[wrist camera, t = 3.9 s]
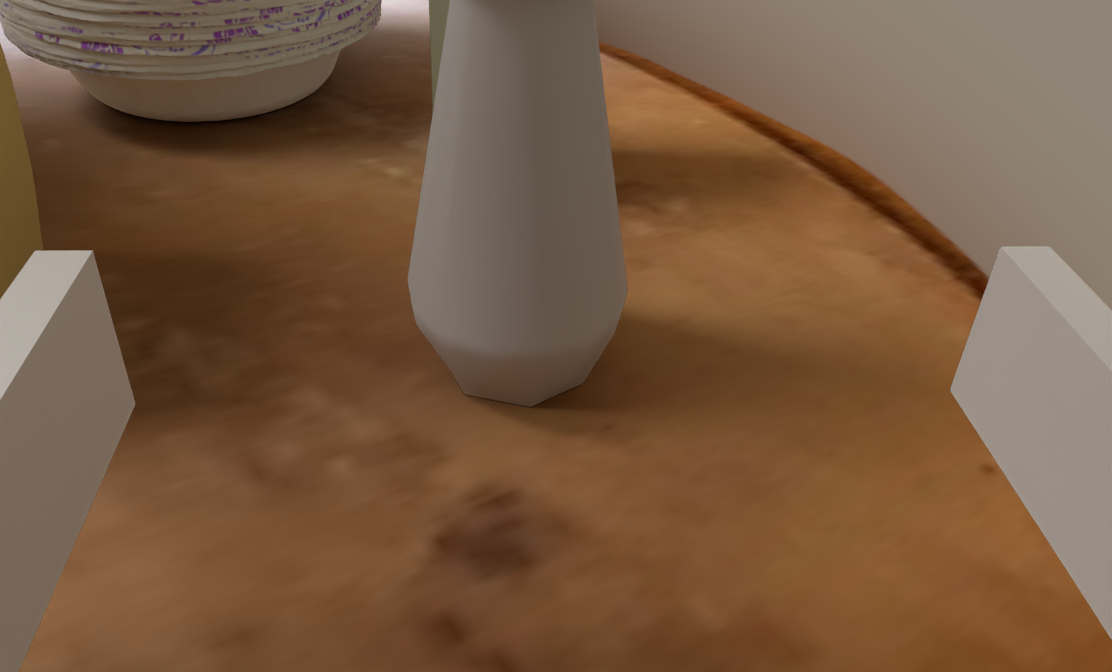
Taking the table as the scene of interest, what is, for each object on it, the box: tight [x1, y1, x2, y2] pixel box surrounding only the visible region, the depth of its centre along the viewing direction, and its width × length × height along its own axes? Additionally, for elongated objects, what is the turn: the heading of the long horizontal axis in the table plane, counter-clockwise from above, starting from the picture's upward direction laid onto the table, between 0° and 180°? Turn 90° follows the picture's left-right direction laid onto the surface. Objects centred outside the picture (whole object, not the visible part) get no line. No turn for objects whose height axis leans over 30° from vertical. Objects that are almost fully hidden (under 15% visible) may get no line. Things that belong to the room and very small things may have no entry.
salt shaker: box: [407, 0, 628, 407], centre depth 23 cm, size 6×6×13 cm
